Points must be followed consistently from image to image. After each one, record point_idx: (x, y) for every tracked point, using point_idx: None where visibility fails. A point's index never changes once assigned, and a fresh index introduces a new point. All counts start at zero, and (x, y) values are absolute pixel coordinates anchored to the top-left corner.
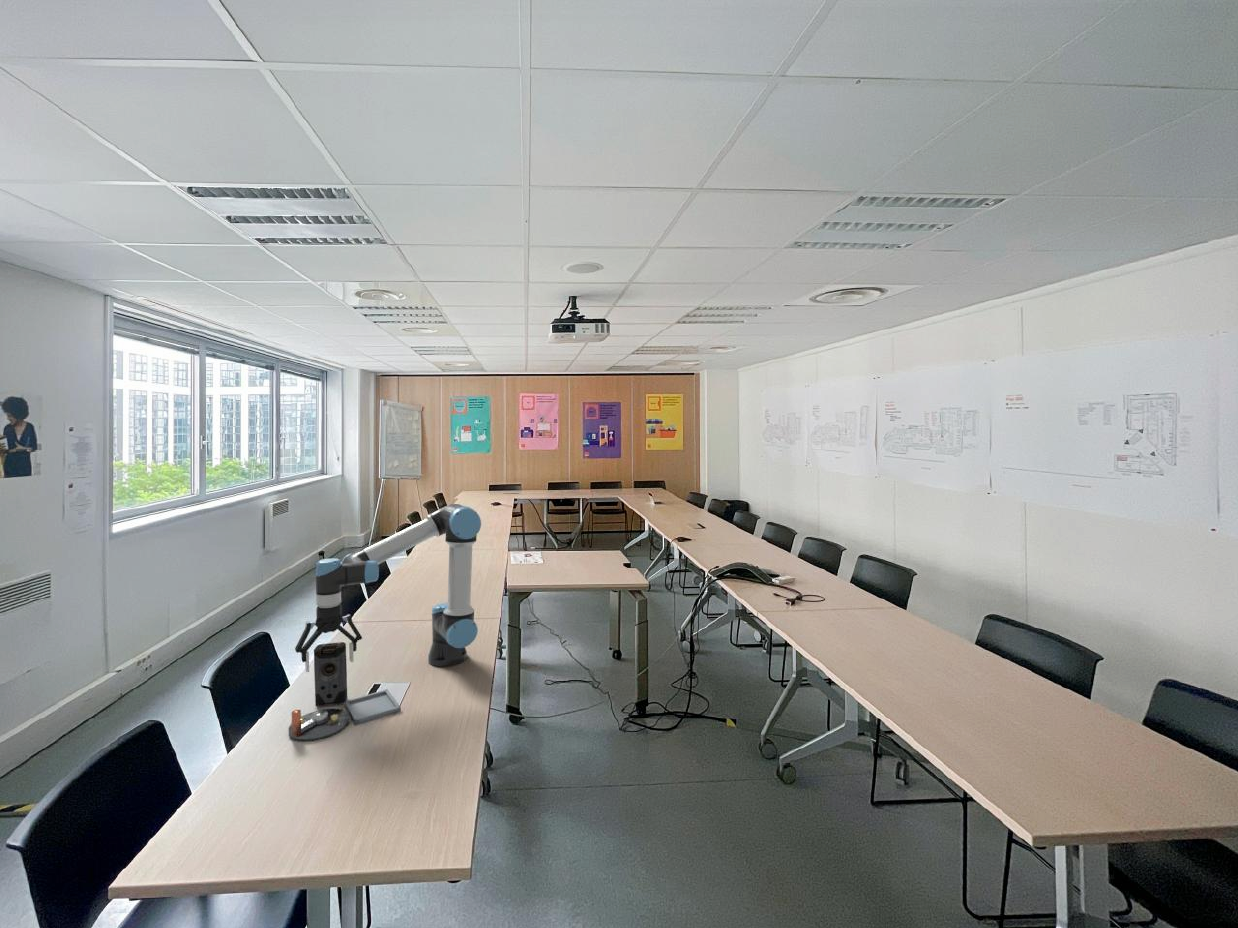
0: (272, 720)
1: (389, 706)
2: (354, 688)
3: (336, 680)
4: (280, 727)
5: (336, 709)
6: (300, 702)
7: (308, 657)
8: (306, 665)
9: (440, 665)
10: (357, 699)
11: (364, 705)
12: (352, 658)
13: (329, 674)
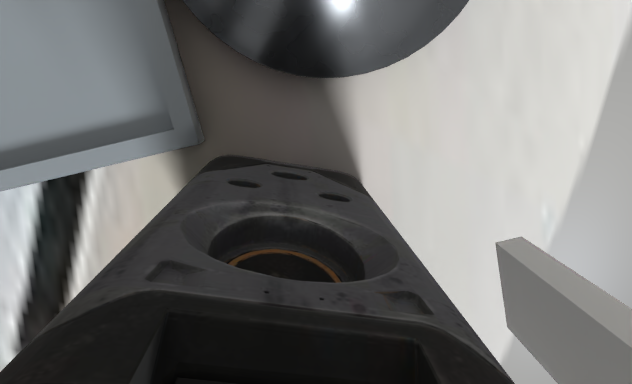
0: (573, 123)
1: None
2: None
3: (225, 193)
4: (535, 10)
5: (238, 40)
6: (443, 286)
7: (629, 336)
8: (571, 275)
9: None
10: (118, 142)
11: (70, 59)
12: None
13: (285, 251)
